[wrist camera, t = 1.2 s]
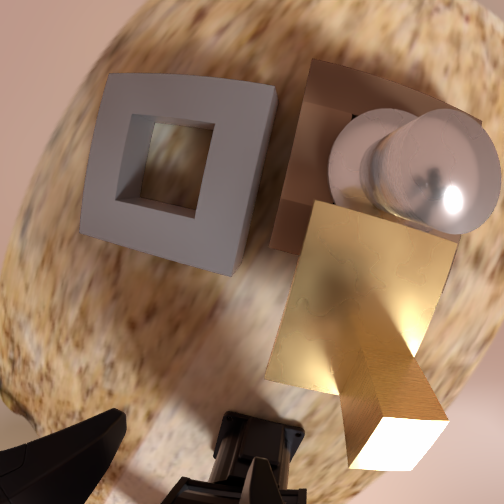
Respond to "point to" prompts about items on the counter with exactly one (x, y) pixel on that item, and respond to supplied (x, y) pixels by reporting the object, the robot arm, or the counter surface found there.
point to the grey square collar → (215, 174)
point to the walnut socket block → (325, 133)
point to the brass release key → (365, 330)
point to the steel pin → (416, 169)
